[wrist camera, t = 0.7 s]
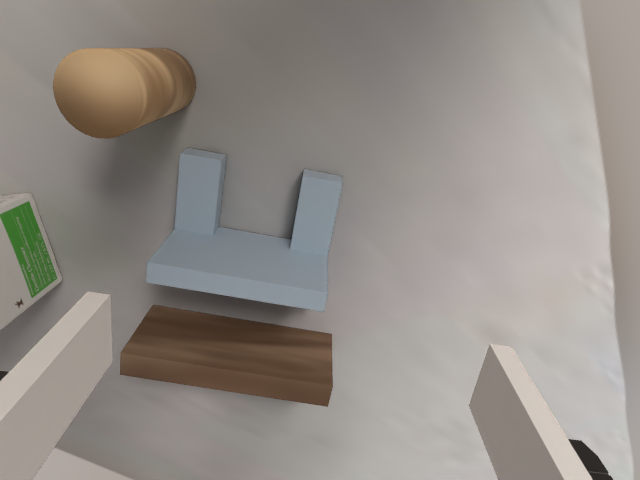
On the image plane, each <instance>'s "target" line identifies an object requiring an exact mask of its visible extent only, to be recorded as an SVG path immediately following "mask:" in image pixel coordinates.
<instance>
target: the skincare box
mask: <svg viewBox="0 0 640 480" xmlns="http://www.w3.org/2000/svg"><path fill="white" fill-rule="evenodd" d="M61 281H62V276H61V273H60V271H59V268H58V266H57V263H56V260H55V257H54V254H53V251H52V248H51V246H50V243H49V240H48V238H47V235H46V232H45V229H44V227H43V224H42V221H41V218H40V216H39V213H38V210H37V207H36V204H35V201H34V198H33V196H32V194H31V193H20V194H12V195H4V196H0V330H2V329H3V328H4V327H5V326H7V325H8V324H9V323H10V322H12V321H13V320H14V319H15V318H17V317H18V316H19V315H20V314H22V313H23V312H24V311H25V310H27V309H28V308H29V307H30V306H32V305H33V304H34V303H35V302H36V301H38V300H39V299H40V298H42V297H43V296H44V295H45V294H47V293H48V292H49V291H50V290H51V289H53V288H54V287H55V286H57V285H58V284H59V283H60V282H61Z"/></svg>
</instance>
